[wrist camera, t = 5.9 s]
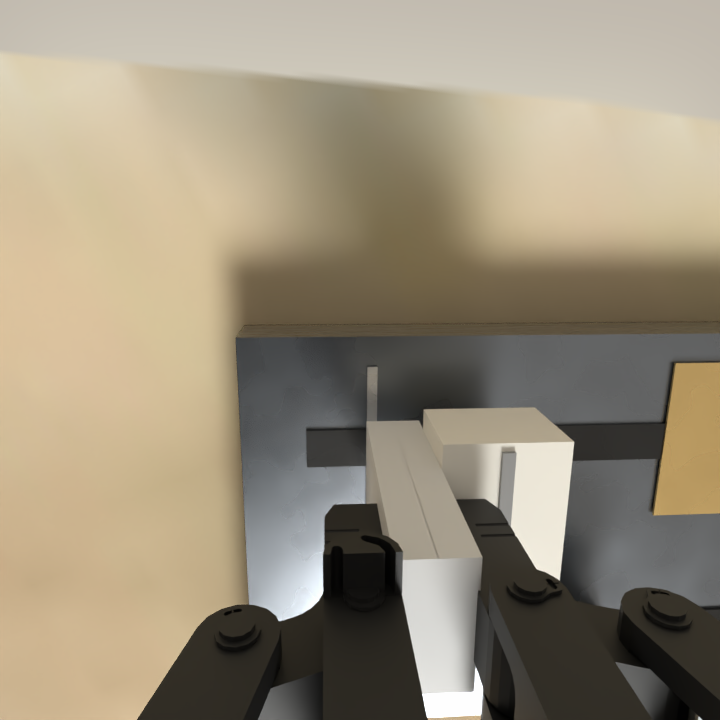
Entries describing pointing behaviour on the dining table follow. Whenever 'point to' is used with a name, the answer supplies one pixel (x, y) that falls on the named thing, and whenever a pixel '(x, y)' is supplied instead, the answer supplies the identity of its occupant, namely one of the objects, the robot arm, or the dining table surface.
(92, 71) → the dining table surface
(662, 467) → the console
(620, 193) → the dining table surface
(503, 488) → the block
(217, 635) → the robot arm
